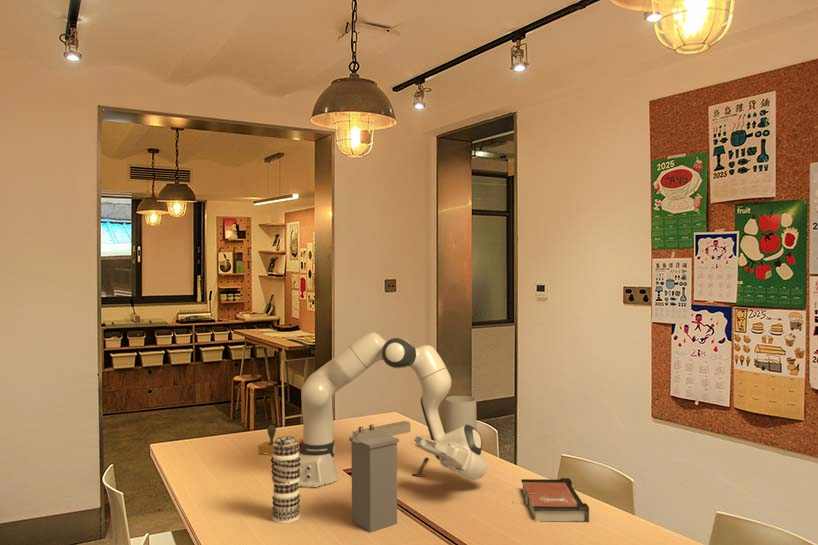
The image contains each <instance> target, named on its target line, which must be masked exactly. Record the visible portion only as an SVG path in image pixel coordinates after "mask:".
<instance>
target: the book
mask: <svg viewBox="0 0 818 545" xmlns="http://www.w3.org/2000/svg"><path fill="white" fill-rule="evenodd" d="M520 481H521V483H522V489H521V494H522V496H523V498H524V505H525V506H526V507H528V510H529V512H530V515H531V518H532V519H533V522H535V523H537V522H536V521H540V522H539V523H543V522H544V523H590V506H589V505H588V504H587V503H585V502H583V501H582V499H581V498H580V497H579V495H578V494H577V493H576V491H575V489H574V488H573V486H572V483H573V482H572V480H571V479H570V477H568V478H567V477H562V478H561V477H560V479H546V478H545V479H541V478H540V479H539V478H538V479H536V478H535V479H530V478H528V479H524V478H522V479H521V480H520Z"/></svg>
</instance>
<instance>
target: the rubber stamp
mask: <svg viewBox="0 0 818 545" xmlns="http://www.w3.org/2000/svg"><path fill="white" fill-rule="evenodd" d="M266 431H267V435H268V437H269V441H264V442H263V443H260V444H259V445H258V446H257V453H258V452H260V453H267V454H273V453H274V445H273V443H274V442H275V441H274V437H275V435H276V433H277V432H276V431H277V429H276V426H275V425H274V424H270V425H269V426H268V427H267V429H266Z"/></svg>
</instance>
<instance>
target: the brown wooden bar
mask: <svg viewBox="0 0 818 545" xmlns="http://www.w3.org/2000/svg"><path fill="white" fill-rule="evenodd" d="M407 433H411V422H409V421H406V420H402V421H397V422H392V423H387V424H383V425H378V426H375V425H374V424H369V425H368V428H364V426H359V427H358V429H357V430H353V431H352V437H353V442H356V443H362V442H367V441H372V440H376V439H381V438H385V437H390V436H392V437H394V436H398V435H402V434H407Z"/></svg>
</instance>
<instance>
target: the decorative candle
mask: <svg viewBox="0 0 818 545" xmlns="http://www.w3.org/2000/svg"><path fill="white" fill-rule="evenodd" d="M273 442H274V443H273V445H274V453H273V455H272V456H271V459H270V461H271V475H272V477H271V479H272V483H273V493H272V494H273V496H271V498H272V502H271V503H272V505H273V506H272V512H271V513H272V514H271V515H272V521H273V522H274V523H277V524H289V523H293V522H296V521H298V520H299V519H300V517H301V515H300V513H301V511H300V510H301V509H300V508H301V506H300V502H301V500H300V498H301V494H300V493H299V492H300V490H299V489H300V487H298V481H299V476H300V474H299V472H300V469H299V468H298V466H300V465H301V463H300V462H298V461H300V460H301V458H299V457H298V443H299V440H297V439H296V438H295V437H294V436H291V435H290V436H289V435H285V436H279V437H277V438H276V440H275V441H273Z"/></svg>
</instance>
